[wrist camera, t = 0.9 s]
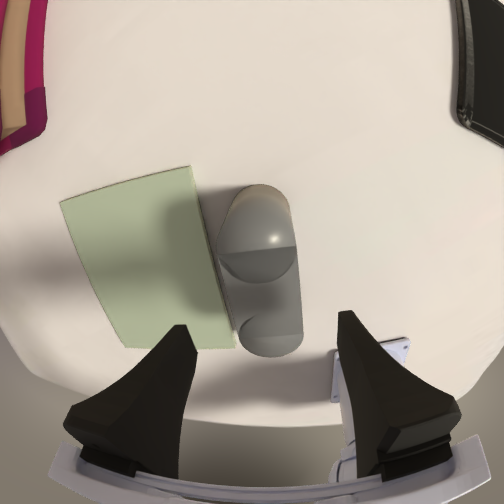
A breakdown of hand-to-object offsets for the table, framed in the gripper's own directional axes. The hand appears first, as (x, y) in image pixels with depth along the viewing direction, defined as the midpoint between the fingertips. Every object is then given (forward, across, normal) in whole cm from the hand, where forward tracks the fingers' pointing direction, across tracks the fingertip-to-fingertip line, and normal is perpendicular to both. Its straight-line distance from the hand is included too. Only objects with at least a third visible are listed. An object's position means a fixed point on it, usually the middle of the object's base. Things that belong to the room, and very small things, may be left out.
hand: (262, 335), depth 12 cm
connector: (+8, 0, +1) cm, 8 cm away
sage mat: (+8, +10, +1) cm, 13 cm away
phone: (+9, -21, -15) cm, 27 cm away
